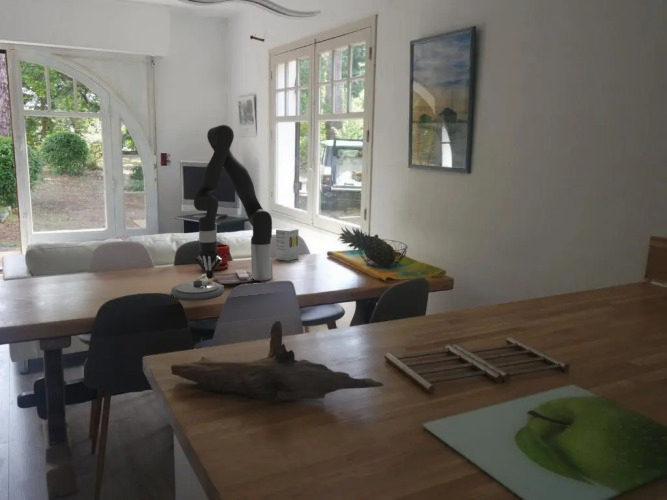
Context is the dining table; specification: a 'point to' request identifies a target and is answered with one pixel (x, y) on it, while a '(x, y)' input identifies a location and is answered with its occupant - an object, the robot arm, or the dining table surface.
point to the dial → (198, 286)
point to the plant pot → (223, 255)
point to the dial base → (199, 295)
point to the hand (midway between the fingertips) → (210, 278)
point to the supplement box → (287, 244)
